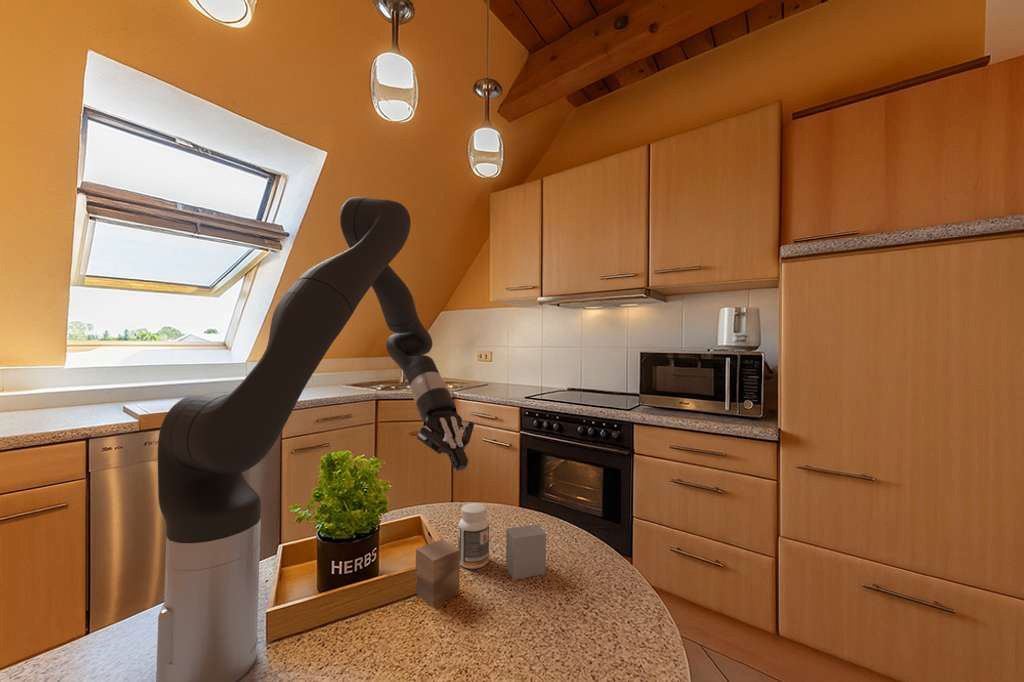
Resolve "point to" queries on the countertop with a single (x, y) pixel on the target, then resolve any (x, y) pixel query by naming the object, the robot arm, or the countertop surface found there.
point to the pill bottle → (473, 536)
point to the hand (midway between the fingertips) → (462, 467)
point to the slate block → (525, 551)
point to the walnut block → (437, 572)
